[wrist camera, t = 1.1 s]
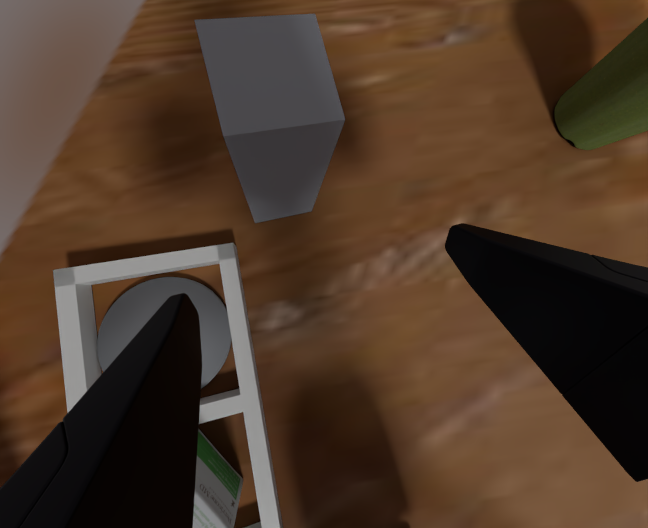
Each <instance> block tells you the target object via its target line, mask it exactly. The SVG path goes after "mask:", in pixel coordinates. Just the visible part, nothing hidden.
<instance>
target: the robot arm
mask: <svg viewBox="0 0 648 528" xmlns="http://www.w3.org/2000/svg"><path fill="white" fill-rule="evenodd" d="M445 249H446V251H447V253H448V254H449V256H450V257H451V259H452V260H453V262H454V263H455V265H456V266H457V268H458V269H459V270H460V272H461V273H462V275H463V276H464V278H465V279H466V281H467V282H468V283H469V285H470V286H471V287H472V288H473V289H474V291H475V292H476V293H477V294H478V295H479V297H480V298H481V299H482V300H483V301H484V303H485V304H486V305H487V306H488V307H489V309H490V310H491V311H492V312H493V313H494V314H495V316H496V317H497V318H498V319H499V320H500V322H501V323H502V324H503V325H504V326H505V328H506V329H507V330H508V331H509V332H510V333H511V335H512V336H513V337H514V338H515V339H516V341H517V342H518V343H519V344H520V345H521V347H522V348H523V349H524V350H525V351H526V353H527V354H528V355H529V356H530V357H531V358H532V360H533V361H534V362H535V363H536V364H537V366H538V367H539V368H540V369H541V370H542V372H543V373H544V374H545V375H546V376H547V377H548V379H549V380H550V381H551V382H552V383H553V385H554V386H555V387H556V388H557V389H558V391H559V392H560V393H561V394H562V396H563V397H564V398H565V399H566V400H567V402H568V403H569V404H570V405H571V406H572V408H573V409H574V410H575V411H576V412H577V414H578V415H579V416H580V417H581V418H582V420H583V421H584V422H585V423H586V424H587V425H588V427H589V428H590V429H591V430H592V431H593V433H594V434H595V435H596V436H597V437H598V439H599V440H600V441H601V442H602V443H603V445H604V446H605V447H606V448H607V449H608V450H609V452H610V453H611V454H612V455H613V456H614V458H615V459H616V460H617V461H618V462H619V464H620V465H621V466H622V467H623V468H624V470H625V471H626V472H627V473H628V474H629V475H630V476H631V477H632V478H633V479H634V480H635V481H636V482H639V481H642V480H646V479H648V268H647V267H643V266H638V265H633V264H629V263H625V262H620V261H616V260H612V259H608V258H604V257H599V256H595V255H590V254H587V253H583V252H579V251H575V250H571V249H567V248H562V247H558V246H554V245H550V244H546V243H542V242H538V241H534V240H530V239H526V238H521V237H517V236H513V235H509V234H505V233H501V232H497V231H493V230H489V229H485V228H480V227H476V226H472V225H468V224H464V223H462V224H457V225H454V226H452V227H451V228H450V230H449V233H448V236H447V240H446V243H445ZM201 380H202V350H201V336H200V321H199V314H198V311H197V309H196V308H195V306H194V304H193V303H192V301H191V299H190V298H189V296H188V295H187V294H186V293H180V294H176V295H172V296H170V297H169V298H168V299H167V300H166V301H165V302H164V303H163V304H162V306H161V307H160V308H159V309H158V310H157V311H156V312H155V314H154V315H153V316H152V317H151V318H150V319H149V321H148V322H147V323H146V324H145V325H144V326H143V327H142V329H141V330H140V331H139V332H138V333H137V334H136V335H135V337H134V338H133V339H132V340H131V341H130V342H129V343H128V345H127V346H126V347H125V348H124V349H123V350H122V351H121V353H120V354H119V355H118V356H117V357H116V358H115V359H114V361H113V362H112V363H111V364H110V365H109V366H108V367H107V369H106V370H105V371H104V372H103V373H102V374H101V376H100V377H99V378H98V379H97V380H96V381H95V382H94V384H93V385H92V386H91V387H90V388H89V389H88V390H87V392H86V393H85V394H84V395H83V396H82V397H81V398H80V400H79V401H78V402H77V403H76V404H75V405H74V406H73V408H72V409H71V410H70V411H69V412H68V413H67V414H66V416H65V417H64V418H63V422H60V423H58V425H57V426H56V427H55V428H54V429H53V430H52V431H51V433H50V434H49V435H48V436H47V437H46V438H45V439H44V441H43V442H42V443H41V444H40V445H39V446H38V447H37V448H36V450H35V451H34V452H33V453H32V454H31V455H30V456H29V457H28V458H27V460H26V461H25V462H24V463H23V464H22V465H21V466H20V467H19V468H18V470H17V471H16V472H15V473H14V474H13V475H12V476H11V477H10V478H9V479H8V480H7V481H6V483H5V484H4V485H3V486H2V487H1V488H0V528H193V513H194V496H195V480H196V463H197V446H198V430H199V413H200V397H201Z"/></svg>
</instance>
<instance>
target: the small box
mask: <svg viewBox="0 0 648 528" xmlns="http://www.w3.org/2000/svg"><path fill="white" fill-rule="evenodd" d="M242 485H243V478H242V477H241V476H240V475H239V474H238V473H237V472H236V471H235V470H234V469H233V468H232V466H231V465H230V464H229V463H228V462H227V461H226V460H225V458H224V457H223V456H222V455H221V454H220V453H219V452H218V450H217V449H216V448H215V447H214V446H213V445H212V443H211V442H210V441H209V440H208V439H207V438H206V436H205V435H204V434H203V433H202V432H201V430H200V429H199V430H198V446H197V463H196V480H195V496H194V513H193V528H234V524H235V519H236V514H237V509H238V504H239V499H240V494H241V489H242Z"/></svg>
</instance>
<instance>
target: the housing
mask: <svg viewBox="0 0 648 528" xmlns="http://www.w3.org/2000/svg"><path fill="white" fill-rule="evenodd" d="M214 264H220V269H221V276H222V282H223V288H224V294H225V301H226V307H227V309H226V307H225V305H224V304H223V302H222V301H221V299H220V298H219V297H218V296H217V295H216V294H215V293H214V292H213V291H212V290H210V289H209V288H208V287H206V286H204V285H202V284H201V283H198V282H196V281H193V280H189V279H185V278H178V277H164V278H157V279H152V280H149V281H146V282H143V283H141V284H139V285H137V286H135V287H133V288H131V289H130V290H128V291H127V292H125V293H124V294H123V295H122V296H121V297H119V298H118V299H117V300H116V302H115V303H114V304H113V305H112V306H111V308H110V309H109V310H108V312H107V314H106V315H105V317H104V319H103V321H102V324H101V326H100V330H99V334H98V339H97V330H96V321H95V312H94V304H93V295H92V286H91V285H93V284H99V283H105V282H111V281H117V280H123V279H129V278H135V277H141V276H147V275H153V274H159V273H166V272H172V271H178V270H184V269H190V268H196V267H202V266H208V265H214ZM53 274H54V284H55V294H56V303H57V313H58V323H59V333H60V343H61V352H62V362H63V372H64V382H65V392H66V401H67V411H68V412H69V411H70V410H71V409H72V408H73V406H74V405H75V404H76V403H77V402H78V401H79V400H80V398H81V397H82V396H83V395H84V394H85V393H86V392H87V390H88V389H89V388H90V387H91V386H92V385H93V384H94V382H95V381H96V380H97V379H98V378H99V377H100V376H101V368H102V370H103V372H104V371H105V370H106V369H107V367H108V366H109V365H110V364H111V363H112V362H113V361H114V359H115V358H116V357H117V356H118V355H119V354H120V353H121V351H122V350H123V349H124V348H125V347H126V346H127V345H128V343H129V342H130V341H131V340H132V339H133V338H134V337H135V335H136V334H137V333H138V332H139V331H140V330H141V329H142V327H143V326H144V325H145V324H146V323H147V322H148V321H149V319H150V318H151V317H152V316H153V315H154V314H155V312H156V311H157V310H158V309H159V308H160V307H161V306H162V304H163V303H164V302H165V301H166V300H167V299H168V298H169V297H170V296H172V295H176V294H180V293H186V294H187V295H188V296H189V298H190V299H191V301H192V303H193V304H194V306H195V308H196V309H197V311H198V314H199V321H200V336H201V350H202V380H201V389H202V388H203V387H204V386H205V385H207V384H208V383H209V382H210V381H211V380H212V379H213V378H214V377H215V375H216V374H217V373H218V372H219V370H220V369H221V367H222V366H223V364H224V363H225V360H226V358H227V356H228V353H229V350H230V347H231V341H232V344H233V351H234V357H235V363H236V370H237V376H238V382H239V389H235V390H231V391H227V392H223V393H219V394H216V395H212V396H208V397H204V398H200V413H199V424H201V423H204V422H208V421H212V420H215V419H219V418H222V417H226V416H230V415H233V414H237V413H241V412H243V413H244V420H245V426H246V432H247V438H248V445H249V451H250V457H251V463H252V470H253V476H254V482H255V488H256V495H257V501H258V507H259V513H260V520H261V522H258V523H255V524H252V525H250V526H247V527H244V528H283V524H282V518H281V512H280V506H279V500H278V494H277V488H276V482H275V476H274V470H273V464H272V458H271V452H270V446H269V440H268V434H267V428H266V422H265V416H264V410H263V404H262V398H261V392H260V386H259V380H258V374H257V368H256V362H255V356H254V350H253V344H252V338H251V332H250V326H249V320H248V314H247V308H246V302H245V296H244V290H243V284H242V278H241V272H240V266H239V260H238V254H237V248H236V246H235V244H234V243H228V244H221V245H215V246H208V247H201V248H195V249H188V250H182V251H175V252H168V253H162V254H155V255H149V256H142V257H136V258H129V259H122V260H116V261H109V262H103V263H96V264H90V265H83V266H76V267H70V268H63V269H57V270H53Z"/></svg>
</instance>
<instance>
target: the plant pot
mask: <svg viewBox="0 0 648 528" xmlns="http://www.w3.org/2000/svg"><path fill="white" fill-rule="evenodd" d="M554 114H555V121H556V124H557V127H558V130H559V132H560V133H561V135H562V136H563V137H564V138H565V139H568V140H570V141H572V142H573V143H574V145H575V147H577V148H580V149H584V150H592V149H595V148H598V147H601V146H604V145H607V144H610V143H613V142H616V141H619V140H621V139H624V138H627V137H630V136H633V135H636V134H639V133H642V132H645V131H648V18H647V19H646V20H645V21H644V22H643V23H641V24H640V25H639V26H638V27H637V28H636V29H635V30H634V31H633V32H632V33H630V34H629V35H628V36H627V37H626V38H625V39H624V40H623V41H622V42H621V43H619V44H618V45H617V46H616V47H615V48H614V49H613V50H612V51H611V52H610V53H608V54H607V55H606V56H605V57H604V58H603V59H602V60H601V61H600V62H599V63H597V64H596V65H595V66H594V67H593V68H592V69H591V70H590V71H589V72H587V73H586V74H585V75H584V76H583V77H582V78H581V79H580V80H579V81H578V82H576V83H575V84H574V85H573V86H572V87H571V88H570V89H569V90H567V91H566V92H565V93H564V94H563V95H562V96H561V97H560V99H559V101H558V103H557V105H556V106H555V111H554Z"/></svg>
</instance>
